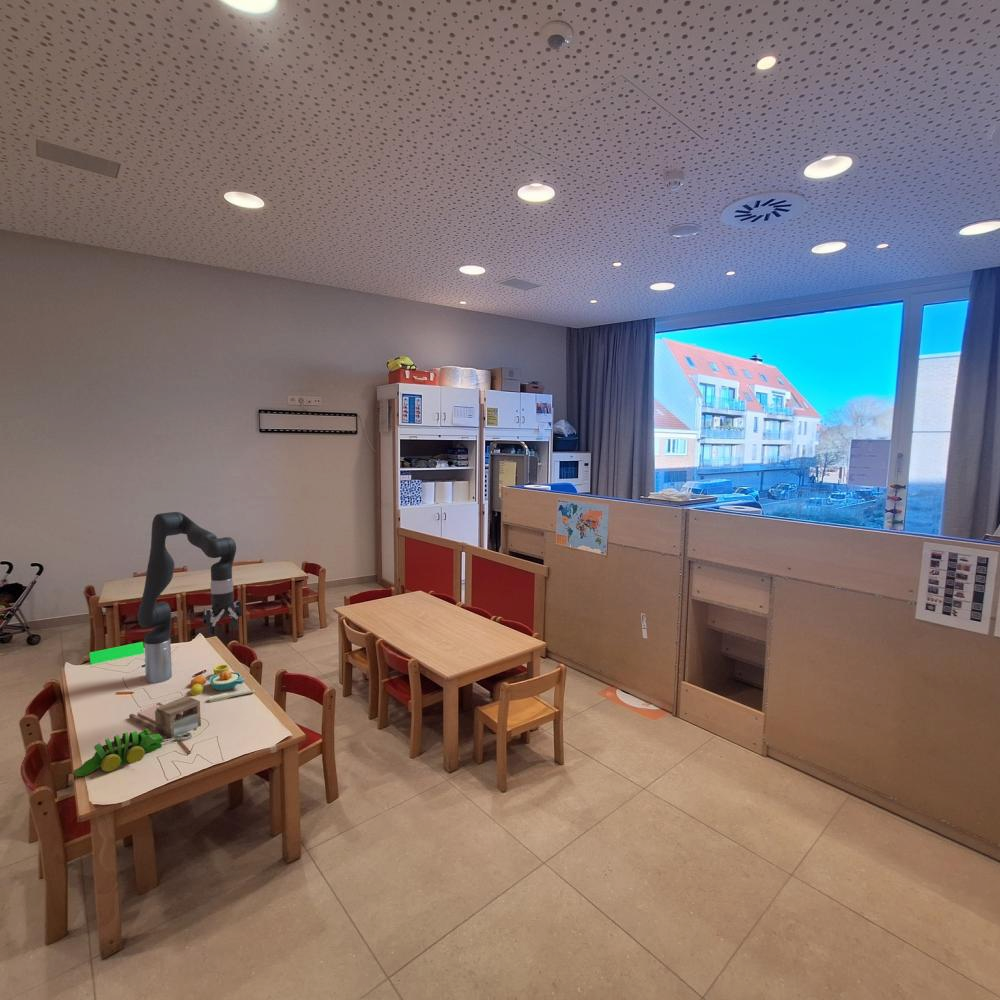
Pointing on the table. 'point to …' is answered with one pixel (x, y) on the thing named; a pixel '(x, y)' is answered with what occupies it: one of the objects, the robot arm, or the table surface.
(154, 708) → the pink flat slab
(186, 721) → the wooden crate
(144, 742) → the toy alligator
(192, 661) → the table surface
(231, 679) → the toy juicer set
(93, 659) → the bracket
